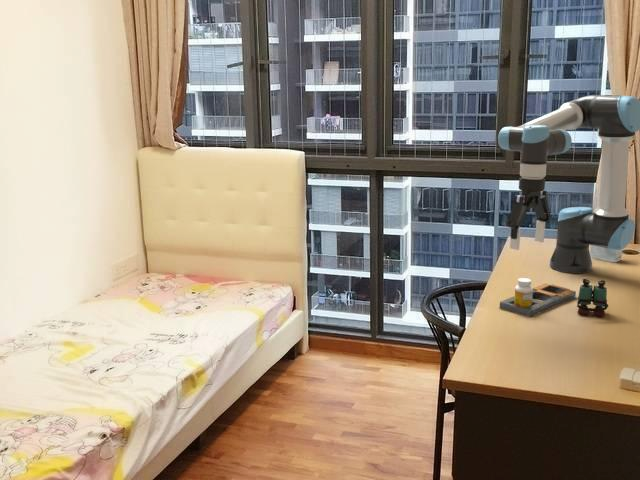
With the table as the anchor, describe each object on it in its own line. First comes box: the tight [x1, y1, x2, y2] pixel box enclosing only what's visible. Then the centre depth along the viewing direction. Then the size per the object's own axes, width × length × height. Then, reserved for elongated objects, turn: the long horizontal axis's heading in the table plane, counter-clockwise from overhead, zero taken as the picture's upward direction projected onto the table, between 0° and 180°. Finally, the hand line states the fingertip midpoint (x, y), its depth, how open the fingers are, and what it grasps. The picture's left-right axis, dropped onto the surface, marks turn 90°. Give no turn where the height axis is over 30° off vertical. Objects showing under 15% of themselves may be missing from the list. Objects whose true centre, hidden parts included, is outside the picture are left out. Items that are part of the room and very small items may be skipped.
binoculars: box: [576, 278, 609, 319], centre depth 207 cm, size 9×11×10 cm
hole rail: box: [499, 282, 577, 318], centre depth 219 cm, size 27×11×2 cm, turn 131°
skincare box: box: [589, 245, 623, 264], centre depth 265 cm, size 10×6×10 cm, turn 43°
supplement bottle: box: [514, 277, 534, 308], centre depth 212 cm, size 5×5×10 cm
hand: (527, 245), depth 208 cm, fingers open, 13 cm apart
